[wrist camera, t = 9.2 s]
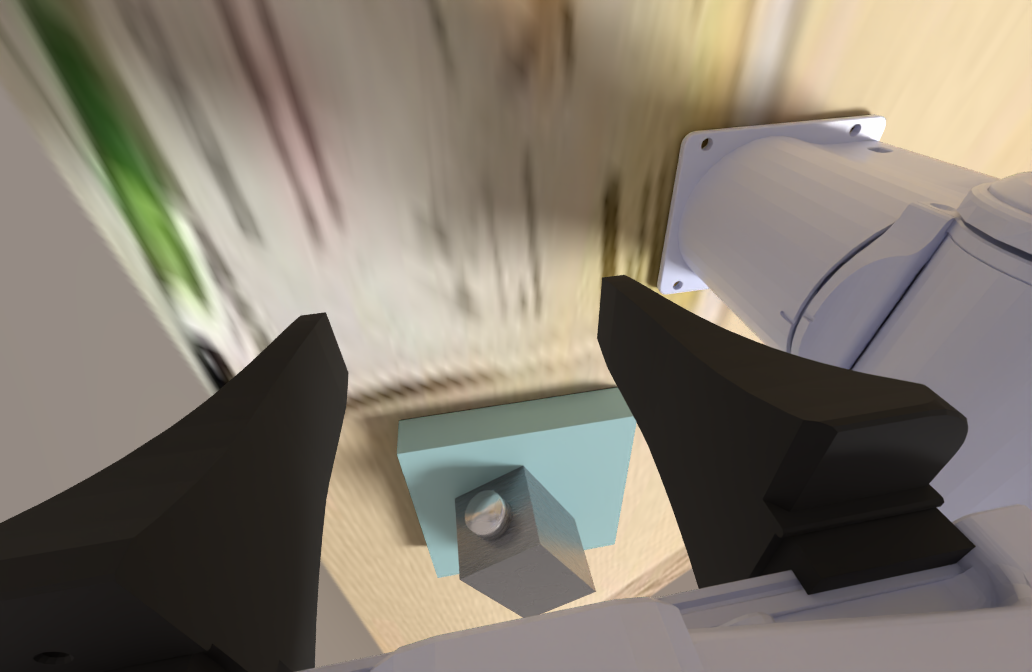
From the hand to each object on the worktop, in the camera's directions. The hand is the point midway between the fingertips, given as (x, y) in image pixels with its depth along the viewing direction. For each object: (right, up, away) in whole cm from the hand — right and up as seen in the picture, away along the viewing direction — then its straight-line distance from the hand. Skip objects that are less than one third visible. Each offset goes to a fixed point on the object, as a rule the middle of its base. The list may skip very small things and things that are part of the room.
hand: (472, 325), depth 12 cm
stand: (+1, -10, +20) cm, 23 cm away
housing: (+1, -12, +18) cm, 22 cm away
